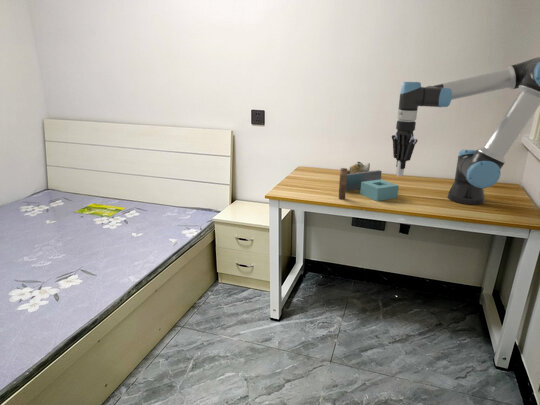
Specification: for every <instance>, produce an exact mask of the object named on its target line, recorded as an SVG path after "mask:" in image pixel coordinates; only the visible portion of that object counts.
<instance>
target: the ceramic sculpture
mask: <svg viewBox="0 0 540 405" xmlns="http://www.w3.org/2000/svg"><path fill="white" fill-rule="evenodd" d="M370 168H371V163H370V162H369V163H364V164H363V162H360V161H357V163H353V164H351V166H350V167H349V168H347V174H351V173H359V172H368V171H370Z"/></svg>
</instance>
